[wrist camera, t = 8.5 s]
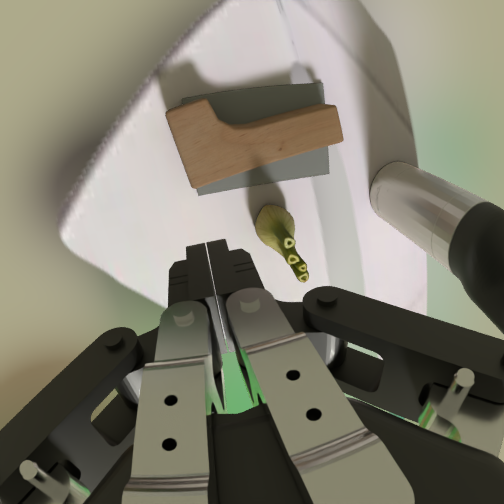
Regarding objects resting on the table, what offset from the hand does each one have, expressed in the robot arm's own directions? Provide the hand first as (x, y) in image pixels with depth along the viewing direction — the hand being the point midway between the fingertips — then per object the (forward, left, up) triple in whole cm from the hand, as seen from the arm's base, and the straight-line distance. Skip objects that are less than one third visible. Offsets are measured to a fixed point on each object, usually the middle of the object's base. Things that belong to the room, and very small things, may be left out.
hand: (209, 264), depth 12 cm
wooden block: (+2, -1, -25) cm, 25 cm away
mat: (-8, 0, -28) cm, 29 cm away
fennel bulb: (-9, +11, -28) cm, 31 cm away
